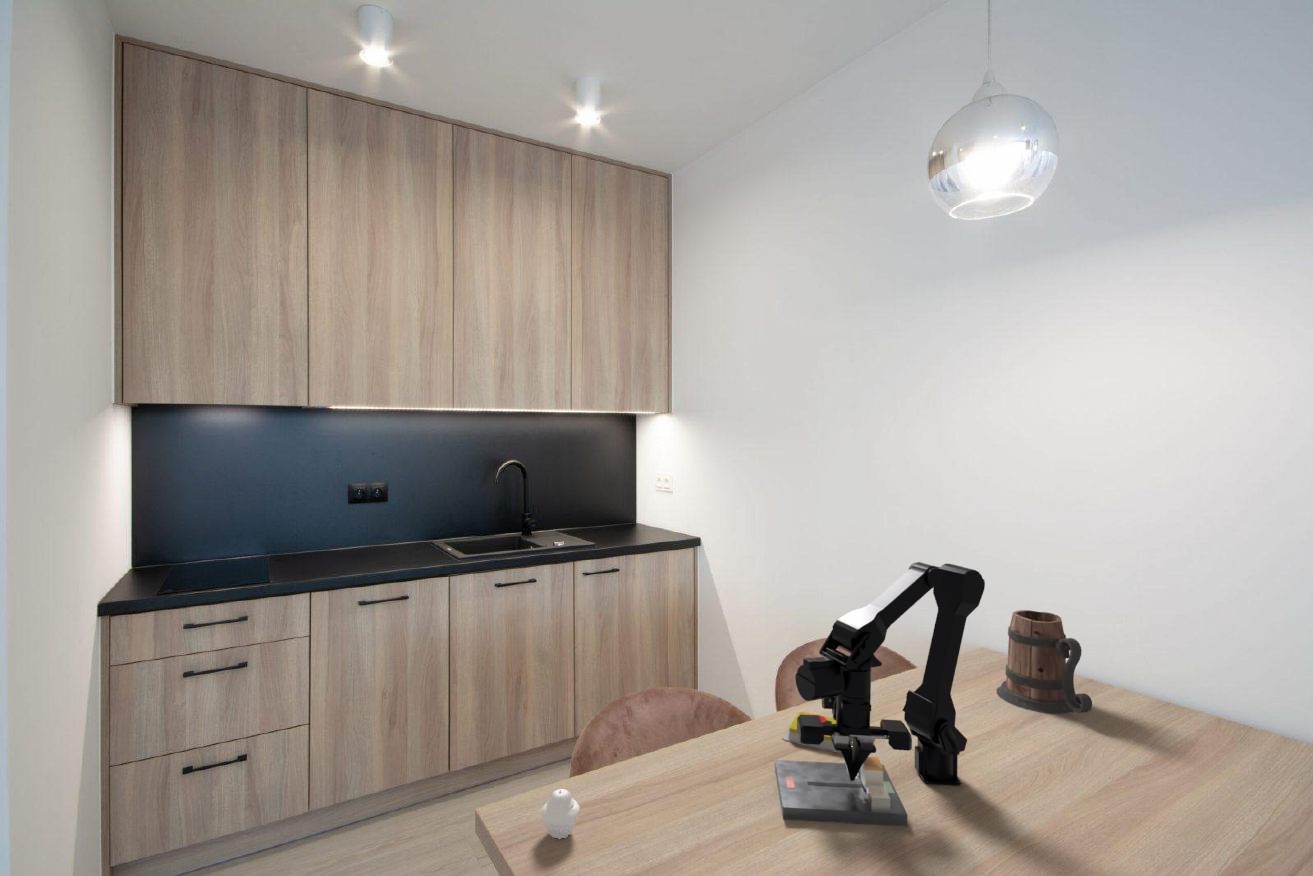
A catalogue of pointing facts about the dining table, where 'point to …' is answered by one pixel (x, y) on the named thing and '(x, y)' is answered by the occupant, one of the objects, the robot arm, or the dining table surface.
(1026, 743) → the dining table surface
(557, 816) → the white rounded lump
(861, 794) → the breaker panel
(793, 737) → the emergency button
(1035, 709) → the tankard
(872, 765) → the block
